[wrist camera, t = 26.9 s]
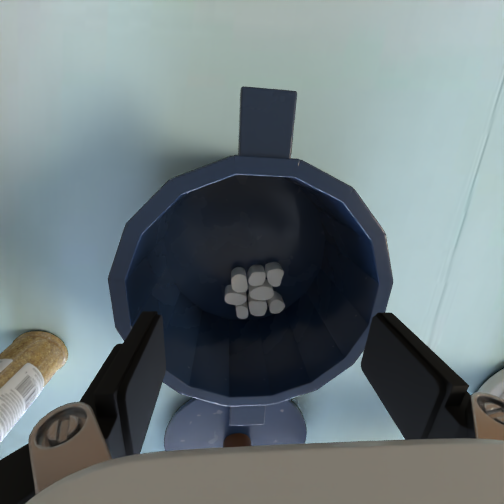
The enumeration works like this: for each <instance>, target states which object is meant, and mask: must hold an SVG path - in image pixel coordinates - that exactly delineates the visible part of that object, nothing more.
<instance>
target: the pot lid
mask: <svg viewBox="0 0 504 504" xmlns="http://www.w3.org/2000/svg"><path fill="white" fill-rule="evenodd" d="M229 412H230V406H229V407H228V406H223V405H219V404H215V403H212V402H208V401H204V400H200V399H197V398H192V399H191V400H189V401H188V402H186V403H185V404H184V405H183V406H181V407H180V408H179V409H178V410H177V411H176V413H175V414H174V415H173V416H172V418H171V420H170V421H169V423H168V426H167V428H166V433H165V438H164V447H165V451H175V450H190V449H205V448H224V447H244V446H265V445H286V444H305V440H306V432H307V431H306V424H305V421H304V417H303V415H302V413H301V411H300V410H299V408H298V407H297V406H296V404H295V403H294V402H292V401H291V400H290V399H288V400H285V401H282V402H279V403H276V404H272V405H266V411H265V420H264V424H263V425H241V426H230V425H229Z"/></svg>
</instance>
